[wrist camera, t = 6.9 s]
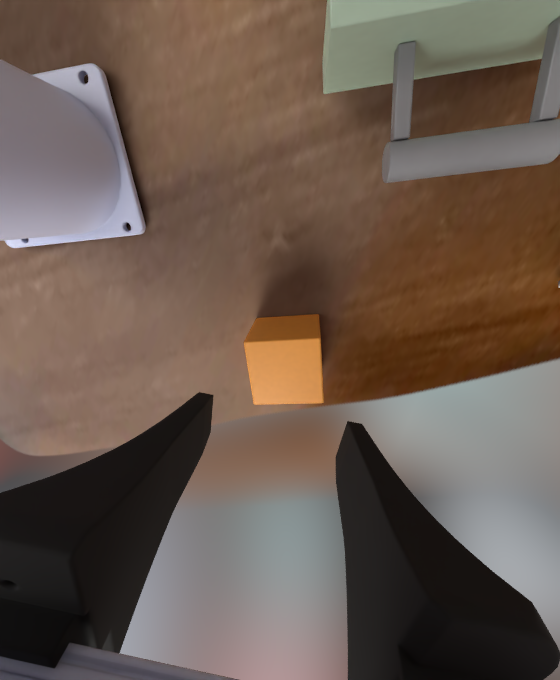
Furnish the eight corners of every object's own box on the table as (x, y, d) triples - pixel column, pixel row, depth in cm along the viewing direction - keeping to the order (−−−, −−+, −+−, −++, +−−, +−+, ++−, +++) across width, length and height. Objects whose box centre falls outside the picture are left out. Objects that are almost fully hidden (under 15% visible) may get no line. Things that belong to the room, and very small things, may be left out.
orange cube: (263, 371, 21) (253, 405, 17) (256, 317, 19) (242, 341, 16) (321, 369, 20) (324, 403, 17) (319, 313, 19) (320, 337, 15)
